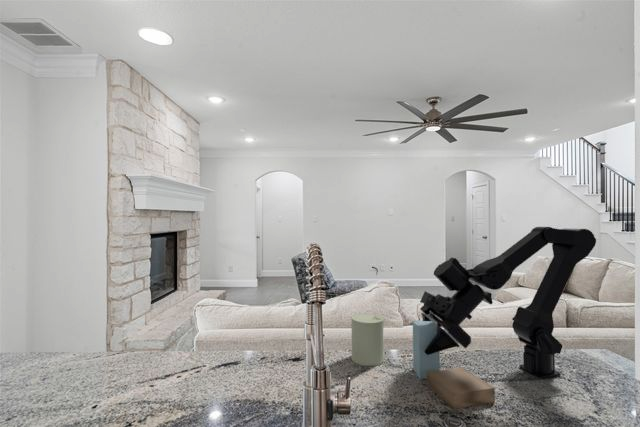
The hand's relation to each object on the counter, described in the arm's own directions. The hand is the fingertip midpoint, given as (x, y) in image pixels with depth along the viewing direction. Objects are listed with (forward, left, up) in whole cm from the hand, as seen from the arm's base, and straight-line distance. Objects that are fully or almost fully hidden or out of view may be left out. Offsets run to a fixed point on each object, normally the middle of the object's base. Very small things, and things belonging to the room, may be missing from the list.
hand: (420, 347), depth 81 cm
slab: (-3, +10, -7) cm, 13 cm away
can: (+10, -12, -7) cm, 17 cm away
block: (-1, 0, -7) cm, 7 cm away
